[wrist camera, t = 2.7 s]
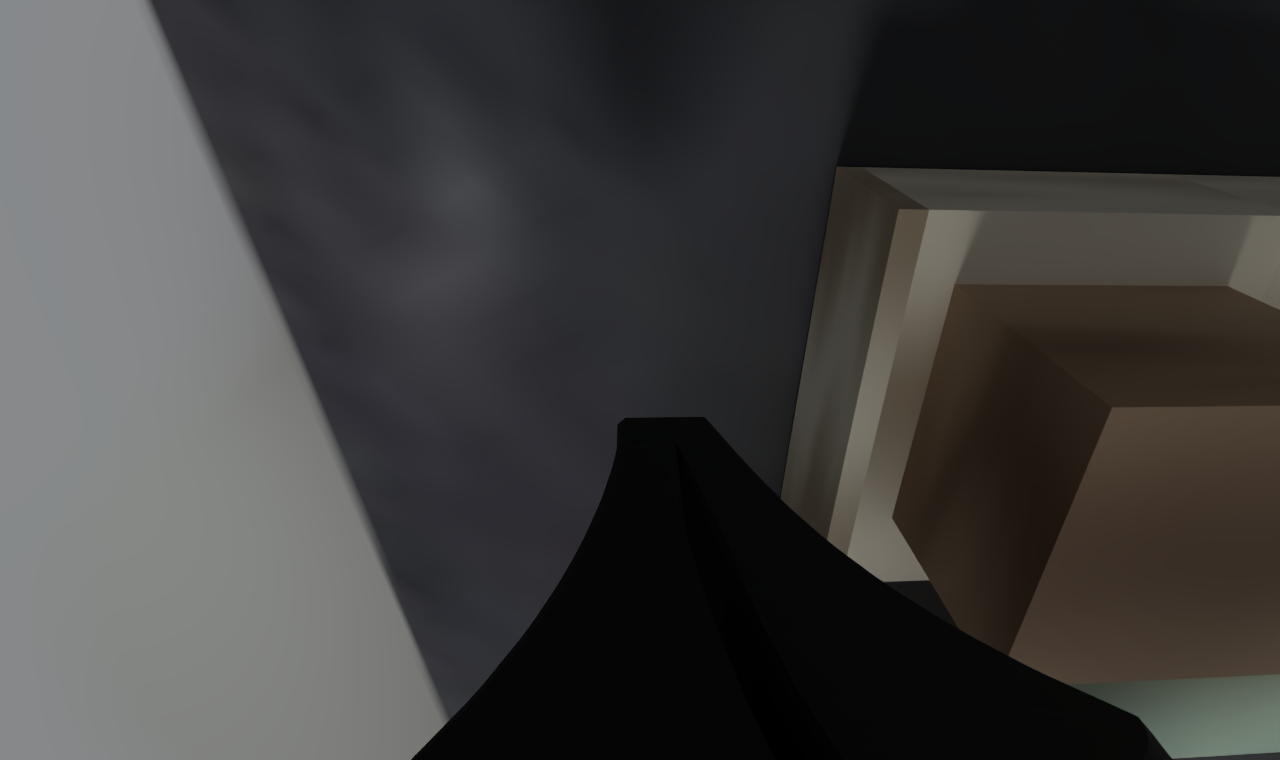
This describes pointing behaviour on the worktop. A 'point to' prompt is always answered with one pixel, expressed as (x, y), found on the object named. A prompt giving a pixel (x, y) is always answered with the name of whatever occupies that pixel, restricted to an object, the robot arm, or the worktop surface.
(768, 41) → the worktop surface
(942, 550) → the walnut block
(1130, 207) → the trap board
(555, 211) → the worktop surface
